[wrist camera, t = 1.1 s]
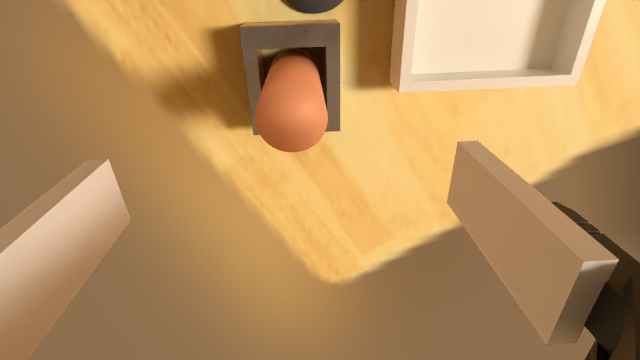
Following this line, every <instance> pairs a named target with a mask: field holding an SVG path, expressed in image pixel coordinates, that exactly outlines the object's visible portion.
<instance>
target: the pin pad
mask: <svg viewBox="0 0 640 360" xmlns="http://www.w3.org/2000/svg"><path fill="white" fill-rule="evenodd" d="M287 1H288V2H289V3H290V4H291V5H293V6H294V7H296V8H297V9H299V10H302V11H305V12H308V13H322V12H326V11H329V10H331V9H333V8H335V7H337V6H338V5H339V4H340V3H341V2H342V1H343V0H287Z"/></svg>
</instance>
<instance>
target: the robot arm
mask: <svg viewBox="0 0 640 360" xmlns="http://www.w3.org/2000/svg"><path fill="white" fill-rule="evenodd" d="M447 203H448V205H449V206H450V208H451V209H452V210H453V212H454V213H455V215H456V216H457V218H458V219H459V220H460V222H461V223H462V225H463V226H464V228H465V229H466V230H467V232H468V233H469V235H470V236H471V238H472V239H473V240H474V242H475V243H476V245H477V246H478V248H479V249H480V250H481V252H482V253H483V255H484V256H485V258H486V259H487V260H488V262H489V263H490V265H491V266H492V268H493V269H494V270H495V272H496V273H497V275H498V276H499V278H500V279H501V280H502V282H503V283H504V285H505V286H506V287H507V289H508V291H509V292H510V293H511V295H512V296H513V298H514V299H515V301H516V302H517V303H518V305H519V306H520V308H521V309H522V310H523V312H524V313H525V315H526V316H527V317H528V319H529V320H530V322H531V323H532V325H533V326H534V328H535V329H536V331H537V332H538V333H539V335H540V336H541V338H542V339H543V341H544V342H545V343H546V345H552V344H567V343H576V342H577V340H578V338H579V337H580V335H581V333H582V331H583V329H584V327H586V328H587V329H588V330H589V331H590V333H591V334H592V335H593V336H594V337H595V339H596V340H595V342H594V344H593V346H592V347H591V349H590V351H589V353H588V355H587V356H586V358H585V360H640V263H639V262H638V261H637V260H635V259H634V258H633V257H631V256H630V255H629V254H628V253H627V252H625V251H624V250H623V249H621V248H620V247H619V246H618V245H617V244H615V243H614V242H613V241H612V240H610V239H609V238H608V237H607V236H605V235H604V234H600V231H599V230H598V229H597V228H595V227H594V226H593V225H591V224H588V221H587V220H585V219H584V218H583V217H581V216H580V215H579V214H578V213H576V212H575V211H574V210H571V209H569V208H567V207H565V206H563V205H561V204H559V203H557V202H550V201H549V200H547V199H546V198H545V197H543V195H541V194H540V193H539V192H538V191H537V190H536V189H534V188H533V187H532V186H531V185H530V184H528V183H527V182H526V181H525V180H524V179H522V178H521V177H520V176H519V175H518V174H516V173H515V172H514V171H513V170H512V169H510V168H509V167H508V166H507V165H506V164H505V163H503V162H502V161H501V160H500V159H499V158H497V157H496V156H495V155H494V154H493V153H491V152H490V151H489V150H488V149H487V148H485V147H484V146H483V145H482V144H481V143H479V142H478V141H464V142H458V143H457V149H456V155H455V160H454V166H453V172H452V177H451V183H450V189H449V194H448V200H447ZM129 221H130V217H129V214H128V211H127V209H126V206H125V203H124V201H123V198H122V195H121V192H120V189H119V187H118V184H117V181H116V178H115V176H114V173H113V170H112V168H111V165H110V162H109V159H97V160H87V161H85V162H84V163H83V164H82V165H80V166H79V167H78V168H77V169H75V170H74V171H73V172H72V173H70V174H69V175H68V176H66V177H65V178H64V179H63V180H61V181H60V182H59V183H58V184H56V185H55V186H54V187H53V188H52V189H50V190H49V191H48V192H46V193H45V194H44V195H43V196H41V197H40V198H39V199H38V200H36V201H35V202H34V203H33V204H31V205H30V206H29V207H27V208H26V209H25V210H24V211H22V212H21V213H20V214H19V215H17V216H16V217H15V218H14V219H12V220H11V221H10V222H9V223H7V224H6V225H5V226H4V227H2V228H1V229H0V360H27V359H28V358H29V357H30V355H31V354H32V352H33V351H34V350H35V348H36V347H37V346H38V344H39V343H40V342H41V340H42V339H43V338H44V336H45V335H46V334H47V332H48V331H49V330H50V328H51V327H52V325H53V324H54V323H55V321H56V320H57V318H58V317H59V316H60V315H61V313H62V312H63V311H64V309H65V308H66V306H67V305H68V304H69V302H70V301H71V300H72V298H73V297H74V296H75V294H76V293H77V292H78V290H79V289H80V288H81V286H82V285H83V284H84V282H85V281H86V279H87V278H88V277H89V275H90V274H91V273H92V271H93V270H94V269H95V267H96V266H97V265H98V263H99V262H100V260H101V259H102V258H103V256H104V255H105V253H106V252H107V251H108V250H109V248H110V247H111V246H112V244H113V243H114V242H115V240H116V239H117V237H118V236H119V235H120V233H121V232H122V231H123V229H124V228H125V227H126V225H127V224H128V223H129Z"/></svg>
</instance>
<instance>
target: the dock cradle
mask: <svg viewBox="0 0 640 360" xmlns="http://www.w3.org/2000/svg"><path fill="white" fill-rule="evenodd" d="M605 2H606V0H395V6H394V21H393V35H392V49H391V64H390V78H389V83H390V84H391V85H392V86H393V87H394V88H395V89H396V90H397V91H398V92H399V93H404V92H427V91H449V90H472V89H495V88H518V87H540V86H563V85H577V84H578V81H579V79H580V76H581V73H582V70H583V67H584V64H585V61H586V58H587V55H588V52H589V49H590V46H591V43H592V40H593V37H594V34H595V31H596V28H597V26H598V23H599V20H600V17H601V14H602V11H603V8H604V5H605Z"/></svg>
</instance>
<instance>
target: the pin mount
mask: <svg viewBox="0 0 640 360" xmlns="http://www.w3.org/2000/svg"><path fill="white" fill-rule="evenodd" d="M239 30H240V38H241V45H242V53H243V60H244V68H245V75H246V83H247V90H248V98H249V105H250V112H251V120H252V127H253V135H260V134H259V132H258V130H257V127H256V123H255V109H256V106H257V103H258V100H259V97H260V94H261V92H262V89H263V86H264V83H265V81H264V72H263V63H262V54H261V49H273V48H298V47H323V46H324V81H325V104H326V108H327V113H328V123H327V127H326V130H325V132H327V131H340V22H338V21H337V20H336V19H332V20H305V21H278V22H251V23H244V24H242V25H241V26H239Z"/></svg>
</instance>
